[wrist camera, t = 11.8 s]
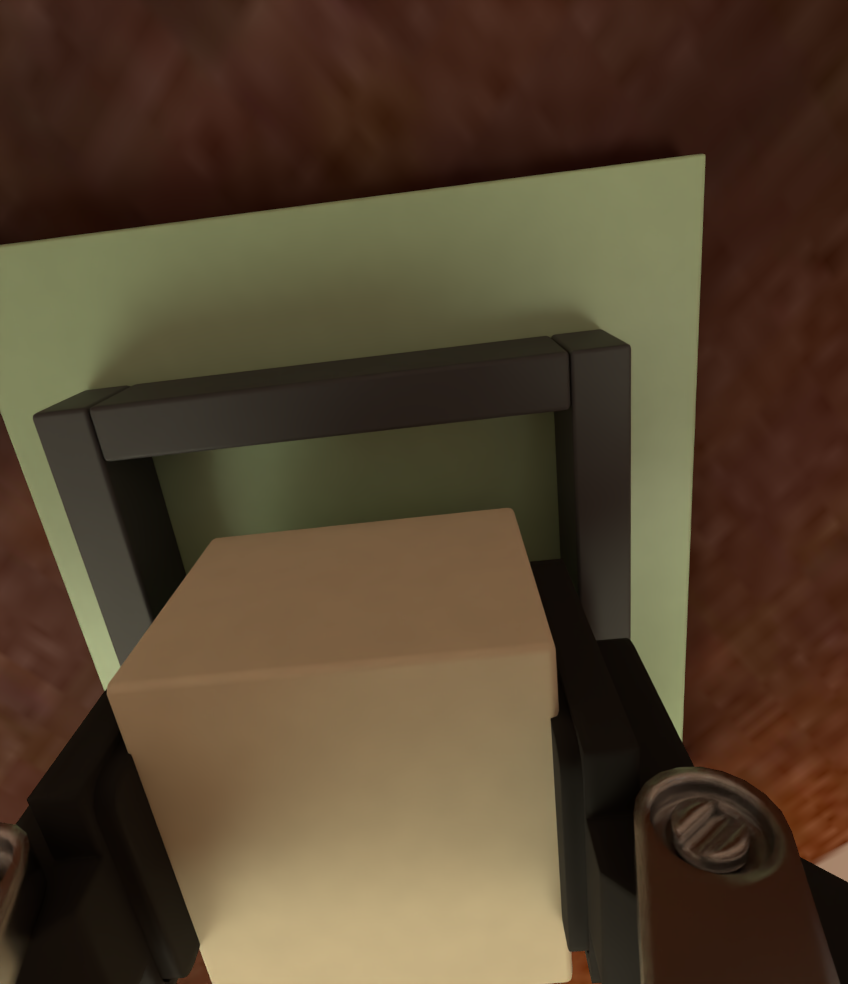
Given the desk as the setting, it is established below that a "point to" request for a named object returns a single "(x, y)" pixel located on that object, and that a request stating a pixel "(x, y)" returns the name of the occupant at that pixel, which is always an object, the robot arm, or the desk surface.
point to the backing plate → (371, 387)
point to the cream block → (357, 754)
